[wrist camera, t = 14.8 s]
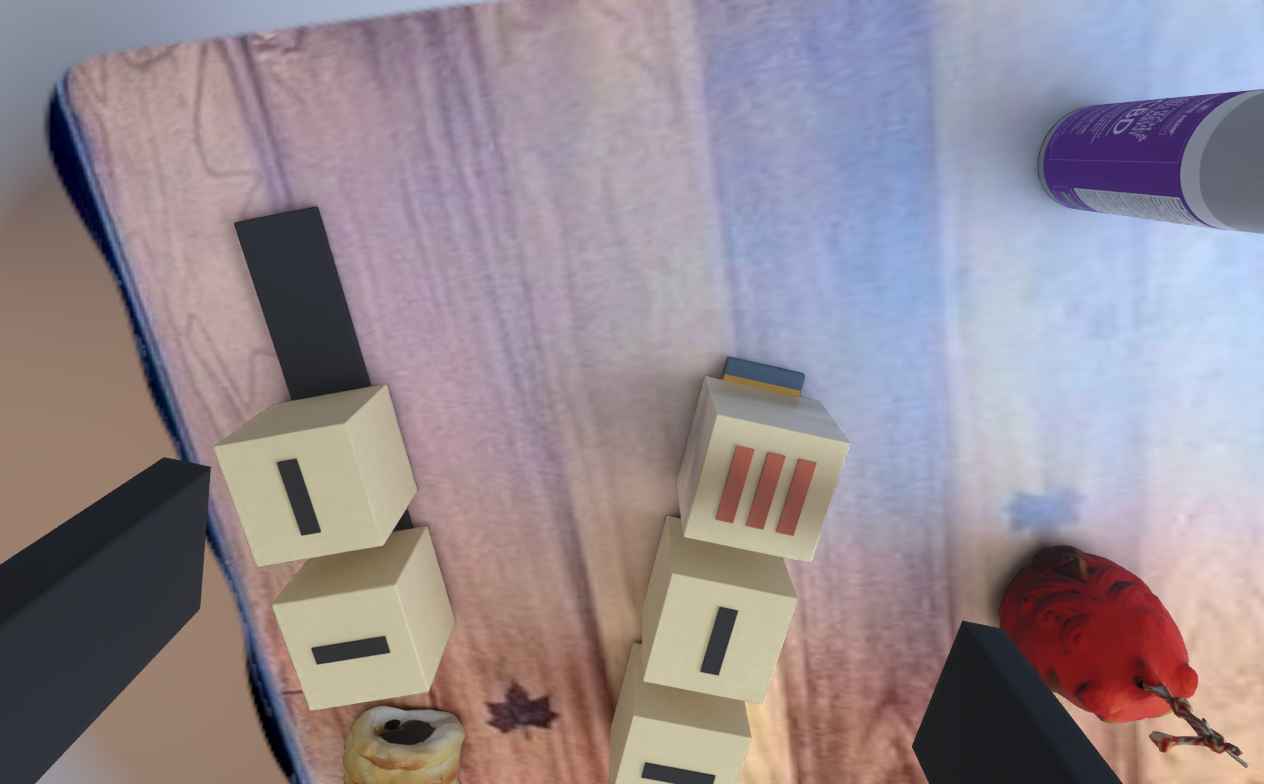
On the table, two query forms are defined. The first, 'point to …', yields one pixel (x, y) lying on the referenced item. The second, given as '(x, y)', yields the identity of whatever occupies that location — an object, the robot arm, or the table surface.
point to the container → (1163, 160)
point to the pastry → (403, 747)
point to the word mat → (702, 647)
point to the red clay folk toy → (1104, 643)
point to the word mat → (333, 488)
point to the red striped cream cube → (759, 470)
